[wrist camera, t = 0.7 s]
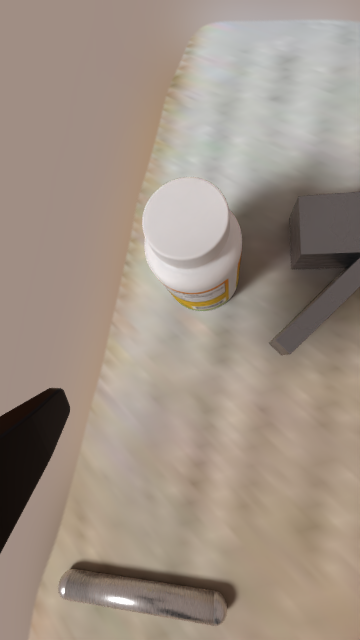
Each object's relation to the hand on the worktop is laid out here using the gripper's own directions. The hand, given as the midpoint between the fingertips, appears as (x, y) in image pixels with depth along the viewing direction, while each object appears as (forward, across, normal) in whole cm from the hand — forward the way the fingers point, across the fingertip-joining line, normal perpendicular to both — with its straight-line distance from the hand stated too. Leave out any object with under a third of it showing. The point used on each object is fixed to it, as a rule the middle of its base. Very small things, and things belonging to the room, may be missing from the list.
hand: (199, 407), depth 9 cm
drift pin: (+2, +6, +19) cm, 20 cm away
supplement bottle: (+15, +2, +2) cm, 15 cm away
